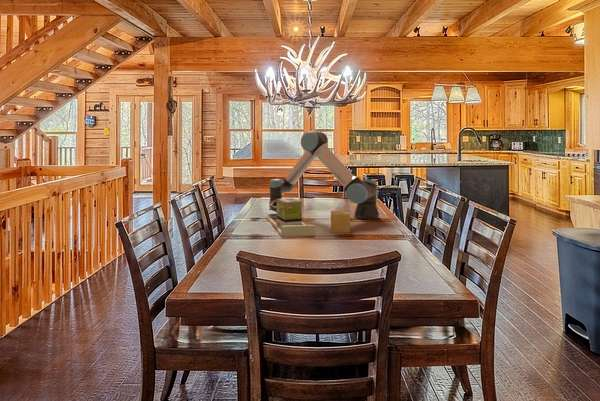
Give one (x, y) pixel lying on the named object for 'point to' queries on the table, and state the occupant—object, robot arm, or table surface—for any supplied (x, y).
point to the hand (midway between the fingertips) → (283, 211)
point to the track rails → (276, 224)
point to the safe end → (297, 230)
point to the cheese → (340, 222)
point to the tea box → (289, 212)
